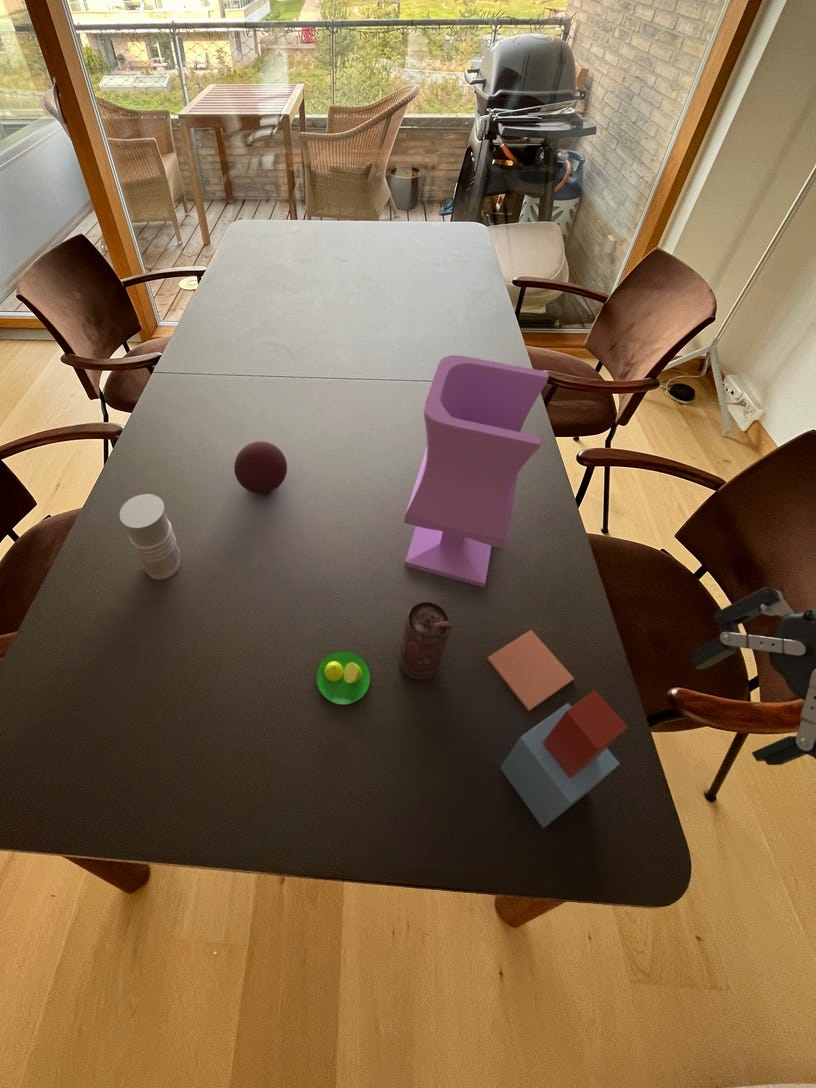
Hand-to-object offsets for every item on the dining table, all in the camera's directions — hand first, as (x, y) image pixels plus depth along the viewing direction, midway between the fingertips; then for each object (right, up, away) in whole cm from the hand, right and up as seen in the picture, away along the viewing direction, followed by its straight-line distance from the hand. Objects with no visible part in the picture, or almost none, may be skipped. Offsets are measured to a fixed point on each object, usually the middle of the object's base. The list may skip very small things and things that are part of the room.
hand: (725, 709), depth 54 cm
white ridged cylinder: (-67, +4, +46) cm, 81 cm away
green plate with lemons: (-36, -10, +31) cm, 49 cm away
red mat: (-8, -9, +32) cm, 34 cm away
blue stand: (-9, -19, +22) cm, 31 cm away
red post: (-9, -11, +13) cm, 20 cm away
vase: (-16, +7, +48) cm, 52 cm away
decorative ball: (-51, +17, +59) cm, 80 cm away
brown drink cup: (-24, -8, +33) cm, 42 cm away
